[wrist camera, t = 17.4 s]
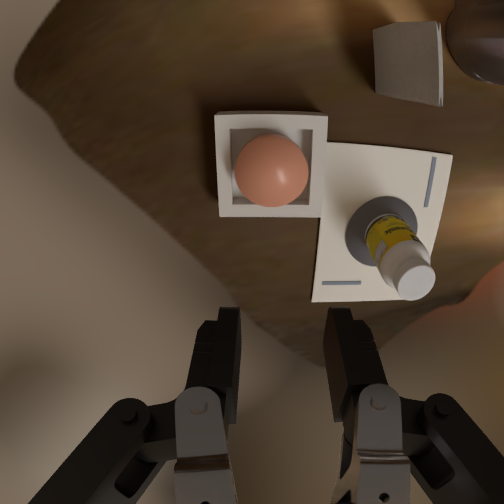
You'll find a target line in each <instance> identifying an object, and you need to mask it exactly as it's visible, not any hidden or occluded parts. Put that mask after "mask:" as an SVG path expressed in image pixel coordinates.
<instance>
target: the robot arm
mask: <svg viewBox="0 0 504 504" xmlns="http://www.w3.org/2000/svg"><path fill="white" fill-rule="evenodd" d="M446 37H447V43H448V46H449V49H450V52H451V54H452V56H453V58H454V60H455V61H456V63H457V64H458V66H459V67H460V68H461V69H462V70H463V71H464V72H465V73H466V74H467V75H469V76H470V77H471V78H474V79H476V80H479V81H484V82H487V83H492V84H499V85H504V0H456V8H455V9H454V10H453V12H452V13H451V14H450V16H449V18H448V20H447V25H446ZM323 352H324V358H325V364H326V370H327V377H328V383H329V390H330V397H331V403H332V410H333V417H334V422H343V427H344V431H343V434H342V437H341V446H340V456H339V464H338V473H337V480H336V484H335V487H334V491H333V494H332V498H331V503H330V504H410V472H411V474H412V475H413V476H414V478H415V479H416V481H417V482H418V483H419V485H420V486H421V488H422V489H423V490H424V492H425V493H426V495H427V496H428V497H429V499H430V500H431V501H432V503H433V504H504V457H503V456H502V455H501V453H500V452H499V451H498V450H497V448H496V447H495V446H494V445H493V444H492V442H491V441H490V440H489V439H488V438H487V436H486V435H485V434H484V433H483V432H482V430H481V429H480V428H479V427H478V426H477V425H476V424H475V422H474V421H473V420H472V419H471V418H470V417H469V416H468V414H467V413H466V412H465V411H464V410H463V408H462V407H461V406H460V405H459V404H458V403H457V402H456V400H454V399H453V398H452V397H451V396H449V395H446V394H442V393H437V394H433V395H431V396H430V397H429V398H428V399H427V400H426V401H418V400H412V399H406V398H403V397H400V396H399V395H398V393H397V392H396V391H395V390H394V389H393V388H391V387H390V386H389V385H388V383H387V380H386V377H385V373H384V370H383V366H382V363H381V360H380V357H379V353H378V351H377V347H376V344H375V342H374V338H373V335H372V332H371V329H370V328H369V327H368V326H367V325H366V324H365V322H364V321H363V320H353V317H352V314H351V310H350V308H349V307H329V309H328V313H327V319H326V325H325V330H324V335H323ZM240 360H241V319H240V307H220V309H219V314H218V320H217V321H209V320H207V321H206V320H205V322H204V323H203V324H202V325H201V327H200V328H199V329H198V331H197V336H196V340H195V345H194V349H193V354H192V359H191V364H190V368H189V374H188V378H187V383H186V387H185V389H184V391H183V392H182V393H181V394H180V395H179V396H178V397H177V398H176V399H175V400H173V401H170V402H168V403H163V404H158V405H152V406H147V405H146V404H145V403H144V402H142V401H141V400H138V399H134V398H126V399H122V400H120V401H118V402H116V403H115V404H114V405H113V406H112V407H111V408H110V409H109V410H108V411H107V413H106V414H105V415H104V416H103V417H102V418H101V419H100V421H99V422H98V423H97V424H96V425H95V426H94V428H93V429H92V430H91V431H90V432H89V433H88V435H87V436H86V437H85V438H84V439H83V440H82V441H81V443H80V444H79V445H78V446H77V447H76V448H75V450H74V451H73V452H72V453H71V454H70V456H68V458H67V459H66V460H65V461H64V462H63V464H62V465H61V466H60V467H59V468H58V470H56V472H55V473H54V474H53V475H52V476H51V478H50V479H49V480H48V481H47V482H46V483H45V484H44V486H43V487H42V488H41V489H40V490H39V491H38V493H37V494H36V495H35V496H34V497H33V498H32V500H31V501H30V502H29V503H28V504H136V502H137V501H138V500H139V498H140V497H141V496H142V494H143V493H144V492H145V490H146V489H147V487H148V486H149V485H150V483H151V482H152V481H153V479H154V478H155V476H156V475H157V473H158V472H159V471H160V469H161V468H162V467H163V465H164V464H165V462H166V461H167V460H173V459H177V463H176V464H175V466H174V479H175V492H176V504H238V500H237V495H236V490H235V486H234V479H233V473H232V468H231V461H230V456H229V449H228V443H227V439H228V430H229V424H236V415H237V402H238V386H239V374H240ZM381 501H382V502H381Z"/></svg>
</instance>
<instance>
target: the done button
mask: <svg viewBox="0 0 504 504" xmlns="http://www.w3.org/2000/svg"><path fill="white" fill-rule="evenodd" d="M235 180H236V183H237V186H238V188H239V190H240V191H241V193H242V194H243V195H244V196H245V197H246V198H247V199H248V200H250V201H251V202H253V203H255V204H257V205H260V206H264V207H279V206H283V205H286V204H288V203H290V202H292V201H293V200H295V199H296V198H297V197H298V196H299V195H300V194H301V193H302V191H303V190H304V188H305V186H306V184H307V180H308V165H307V161H306V159H305V157H304V155H303V153H302V151H301V149H300V148H299V146H298V145H297V144H296V143H295V142H294V141H292V140H291V139H289V138H288V137H285V136H283V135H279V134H272V133H271V134H262V135H259V136H257V137H254V138H253V139H251V140H250V141H248V142H247V143H246V144H245V145H244V146H243V148H242V149H241V151H240V153H239V155H238V158H237V161H236V165H235Z"/></svg>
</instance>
